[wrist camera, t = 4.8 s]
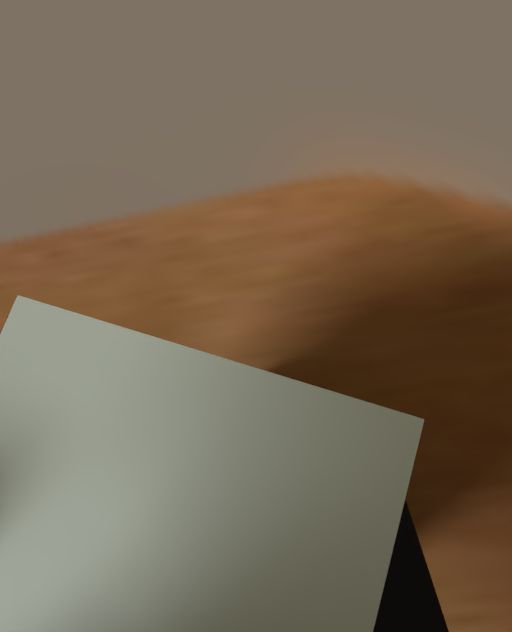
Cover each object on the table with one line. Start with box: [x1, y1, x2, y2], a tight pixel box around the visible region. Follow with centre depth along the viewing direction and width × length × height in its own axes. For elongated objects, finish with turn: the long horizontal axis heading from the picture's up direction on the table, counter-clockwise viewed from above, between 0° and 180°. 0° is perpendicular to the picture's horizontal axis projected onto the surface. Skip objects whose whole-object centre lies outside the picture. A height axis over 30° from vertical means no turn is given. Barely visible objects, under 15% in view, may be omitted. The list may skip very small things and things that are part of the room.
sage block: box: [0, 295, 424, 632], centre depth 10 cm, size 5×5×11 cm
